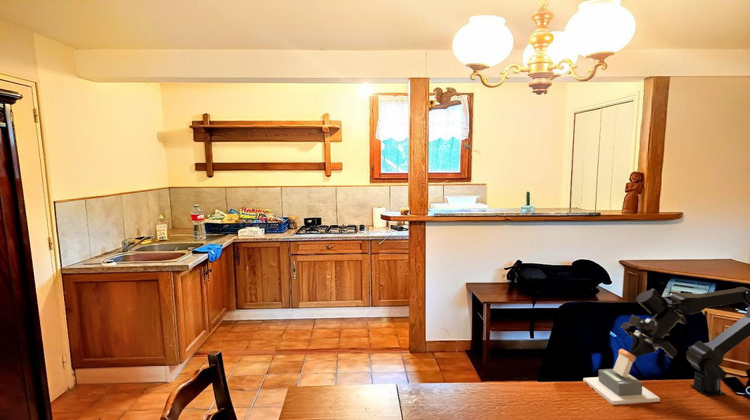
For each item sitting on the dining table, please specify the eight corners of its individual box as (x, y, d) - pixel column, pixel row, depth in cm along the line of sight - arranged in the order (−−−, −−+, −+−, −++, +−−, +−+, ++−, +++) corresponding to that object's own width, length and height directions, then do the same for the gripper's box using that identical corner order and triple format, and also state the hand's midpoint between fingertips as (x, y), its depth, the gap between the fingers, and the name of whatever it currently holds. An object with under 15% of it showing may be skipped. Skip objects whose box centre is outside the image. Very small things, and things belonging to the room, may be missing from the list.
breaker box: (625, 378, 138) (625, 363, 138) (659, 401, 123) (660, 385, 123) (583, 381, 137) (583, 366, 136) (612, 404, 122) (612, 388, 121)
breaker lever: (617, 371, 132) (625, 349, 132) (628, 378, 127) (636, 356, 127) (611, 369, 132) (619, 347, 132) (622, 376, 127) (631, 354, 127)
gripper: (625, 299, 138) (596, 331, 138) (669, 316, 120) (635, 353, 120) (646, 320, 139) (616, 351, 139) (692, 340, 121) (658, 376, 121)
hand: (630, 357), depth 130 cm, fingers closed, pressing on breaker lever
